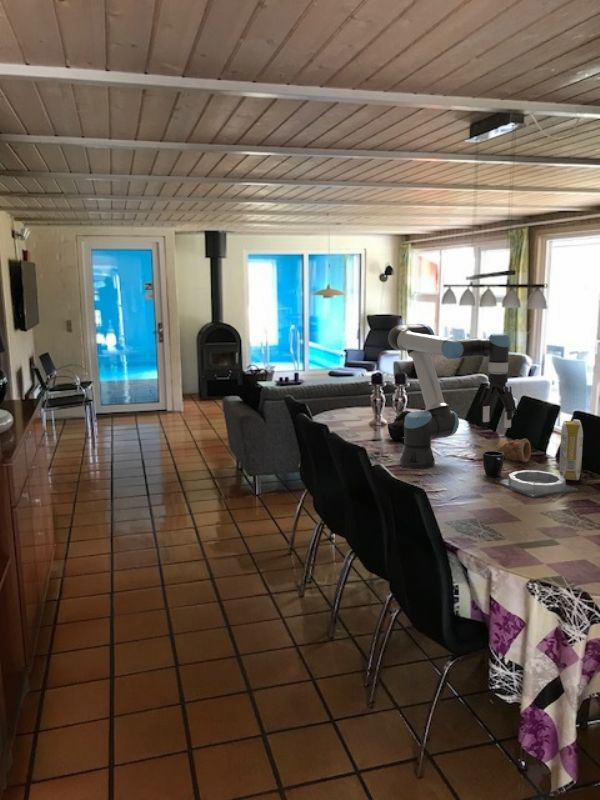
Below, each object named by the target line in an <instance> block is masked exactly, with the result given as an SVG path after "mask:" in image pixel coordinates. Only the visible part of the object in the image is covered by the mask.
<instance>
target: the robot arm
mask: <svg viewBox="0 0 600 800" xmlns="http://www.w3.org/2000/svg"><path fill="white" fill-rule="evenodd" d="M387 340H388V344H389V345H390V347H392V348H393V349H394V350H398V351H402V352H403V351H406V352H407V356H408V357H409V358H411V359H412V361H413V362H412V363H413V364H414V365H413V366H414V369H415V373H416V376H417V380H418V383H419V387H420V390H421V395H422V398H423V401H424V405H425V409H424V410H415V411H410V412H411V413H408V414H407V415H406V416H405V422H404V437H403V438H404V440H403V444H404V445H403V449H402V453H401V456H400V459H399V460H400V461H399V465H400V466H401V467H403V468H407V469H415V470H416V469H417V470H419V469H420V470H423V469H431V468H433V467H435V466H436V462H435V461H436V460H435V457H434V453H433V451H432V440H436V439H437V440H438V439H442V438H445V439H446V438H448V437H451V436H454V435H455V434H456V433H457V431H458V429H459V426H460V420H459V415H458V413H456V412H455V411H453V410H451V409H450V408H451V407H450V405H449V404H447V403H446V402H445V399H444V396H443V392H442V389H441V385H440V382H439V378H438V375H437V371H436V367H435V364H434V363H435V362H434V361H433V357H432V354H433V355H438V356H443V357H444V358H445V359H448V360H450V359H451V360H456V359H463V358H476V357H482V358H483V357H484V358H488V366H487V367H488V369H487V370H488V374H487V375H488V376H487V381H488V382H484V386H483V391H482V393H481V395H480V398H479V400H478V404H479V405H481V407H482V422H483V423H488V422H490V408H491V406H490V403H491V402H492V400H493V399H494V397H498V398H499V399H500V401H501V403H502V405H503V407H504V409H505V411H504V419H503V422H504V423H503V427H504V429H508V428H511V427H512V420H513V419H512V418H513V412H515V411H517V406H516V403H515V399H514V396H513V392H512V391H513V390H512V389H513V388H512V386H510V385H509V386H506V384H507V383H508V380H509V374H508V371H509V352H510V351H509V350H510V337H509V335H508V334H506V333H492V334H490V335H489V338H483V337H481V338H480V337H469V338H463V339H458V338H450V337H445V336H437V335H435V332H434V330H433V329H432V327H430V326H429V325H427V324H424V323H413V324H398V325H396V326H394V327H393V328H391V330H390V331H389V334H388V339H387Z"/></svg>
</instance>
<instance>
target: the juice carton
mask: <svg viewBox="0 0 600 800" xmlns="http://www.w3.org/2000/svg"><path fill="white" fill-rule="evenodd" d="M583 440H584V430H583V426H582V421H581V420H580V419H572V420H563V422H562V425H561V430H560V447H559V473H560V474H559V475H560V476H562V477H563V478H564V479H565V481H567V480H570V481H579V479H580V475H581V474H582V473H581V472H582V462H583V460H582V457H583V442H584V441H583Z"/></svg>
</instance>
